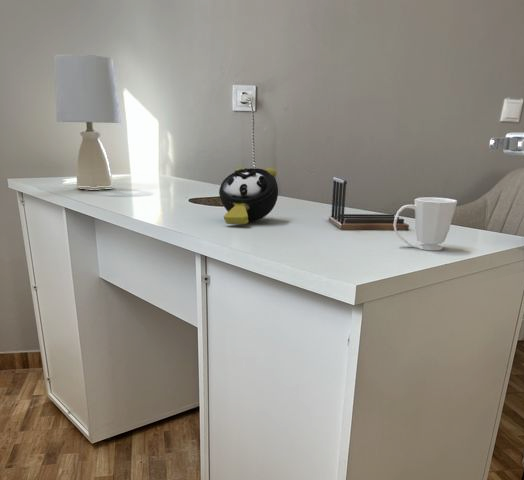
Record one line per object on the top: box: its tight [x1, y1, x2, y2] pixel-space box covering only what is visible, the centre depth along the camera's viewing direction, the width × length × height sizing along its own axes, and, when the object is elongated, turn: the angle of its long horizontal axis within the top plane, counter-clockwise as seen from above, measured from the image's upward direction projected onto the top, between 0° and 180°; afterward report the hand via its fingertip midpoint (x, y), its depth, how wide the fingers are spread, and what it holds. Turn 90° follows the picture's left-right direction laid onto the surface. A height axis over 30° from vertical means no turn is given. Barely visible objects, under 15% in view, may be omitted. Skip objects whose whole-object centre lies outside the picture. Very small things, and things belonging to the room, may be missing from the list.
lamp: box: [53, 53, 122, 189], centre depth 169 cm, size 19×19×37 cm
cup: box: [393, 196, 458, 251], centre depth 94 cm, size 7×10×8 cm
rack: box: [328, 176, 410, 231], centre depth 116 cm, size 14×12×9 cm
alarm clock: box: [218, 167, 279, 225], centre depth 118 cm, size 12×15×15 cm
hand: (505, 143), depth 90 cm, fingers open, 8 cm apart
